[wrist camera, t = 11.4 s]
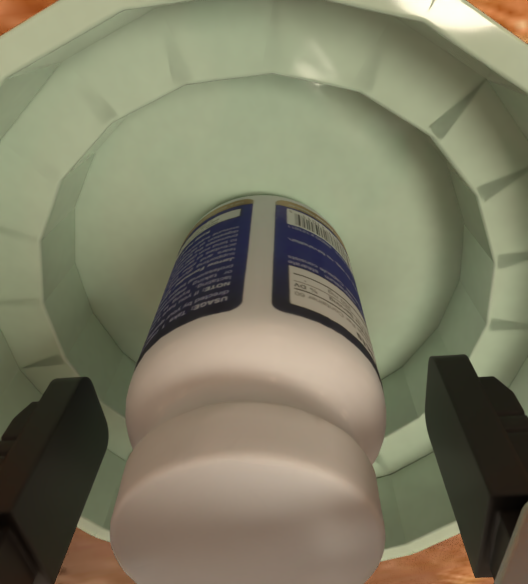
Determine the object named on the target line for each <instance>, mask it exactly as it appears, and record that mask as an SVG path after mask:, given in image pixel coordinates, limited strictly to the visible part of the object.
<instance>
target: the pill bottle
mask: <svg viewBox="0 0 528 584" xmlns="http://www.w3.org/2000/svg"><path fill="white" fill-rule="evenodd" d="M125 418H126V427H127V432H128V436H129V440H130V443H131V446H132V449H133V451H132V452H131V454H130V455H129V458H128V460H127V462H126V465H125V469H124V472H123V476H122V480H121V484H120V488H119V492H118V496H117V499H116V503H115V507H114V510H113V514H112V518H111V522H110V541H111V548H112V550H113V552H114V555H115V558H116V559H117V561H118V563H119V564H120V566H121V567H122V569H123V570H124V571H125V573H126V574H127V575H128V576H129V577H130V578H131V579H132V580H133V581H135V582H136V583H137V584H364V583H365V582H366V581H367V580H368V579H369V578H370V576H371V575H372V574H373V573H374V571H375V570H376V568H377V567H378V565H379V563H380V561H381V559H382V555H383V552H384V547H385V538H386V536H385V525H384V520H383V515H382V509H381V504H380V498H379V492H378V486H377V480H376V474H375V471H374V468H373V466H372V465H373V463H374V462H375V460H376V458H377V456H378V454H379V452H380V449H381V446H382V443H383V439H384V435H385V429H386V404H385V398H384V392H383V386H382V382H381V379H380V375H379V371H378V367H377V363H376V359H375V356H374V351H373V348H372V344H371V340H370V336H369V333H368V329H367V325H366V321H365V317H364V313H363V310H362V306H361V302H360V298H359V294H358V290H357V287H356V283H355V279H354V275H353V271H352V267H351V263H350V260H349V257H348V254H347V251H346V248H345V246H344V244H343V242H342V240H341V238H340V236H339V234H338V233H337V231H336V230H335V229H334V228H333V226H332V225H331V224H330V223H329V222H328V221H327V220H326V219H325V218H324V217H323V216H321V215H320V214H319V213H317V212H316V211H314V210H313V209H311V208H310V207H308V206H306V205H304V204H302V203H300V202H297V201H294V200H292V199H288V198H284V197H279V196H271V195H254V196H246V197H241V198H237V199H234V200H231V201H228V202H226V203H224V204H221V205H219V206H218V207H216V208H214V209H213V210H211V211H209V212H208V213H207V214H206V215H204V216H203V217H202V218H201V219H200V220H199V221H198V222H197V223H196V224H195V225H194V226H193V228H192V229H191V230H190V232H189V233H188V235H187V237H186V239H185V240H184V242H183V244H182V246H181V248H180V251H179V253H178V256H177V259H176V262H175V264H174V267H173V269H172V272H171V275H170V277H169V280H168V283H167V285H166V288H165V291H164V293H163V296H162V299H161V301H160V304H159V307H158V309H157V312H156V315H155V317H154V320H153V322H152V325H151V328H150V330H149V333H148V336H147V338H146V341H145V343H144V346H143V349H142V351H141V354H140V357H139V359H138V361H137V364H136V367H135V370H134V373H133V376H132V379H131V382H130V385H129V389H128V393H127V397H126V412H125Z"/></svg>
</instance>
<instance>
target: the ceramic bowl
mask: <svg viewBox="0 0 528 584" xmlns="http://www.w3.org/2000/svg"><path fill="white" fill-rule="evenodd" d="M254 195H271V196H279V197H284V198H288V199H292V200H294V201H297V202H300V203H302V204H304V205H306V206H308V207H310V208H311V209H313V210H314V211H316V212H317V213H319V214H320V215H321V216H323V217H324V218H325V219H326V220H327V221H328V222H329V223H330V224H331V225H332V226H333V228H334V229H335V230H336V231H337V233H338V234H339V236H340V238H341V240H342V242H343V244H344V246H345V248H346V251H347V254H348V257H349V260H350V263H351V267H352V271H353V275H354V279H355V283H356V287H357V290H358V294H359V298H360V302H361V306H362V310H363V313H364V317H365V321H366V325H367V329H368V333H369V336H370V340H371V344H372V348H373V351H374V356H375V359H376V363H377V367H378V371H379V375H380V379H381V382H382V386H383V392H384V398H385V404H386V429H385V435H384V439H383V443H382V446H381V449H380V452H379V454H378V456H377V458H376V460H375V462H374V463H373V465H372V466H373V468H374V471H375V474H376V480H377V486H378V492H379V498H380V504H381V509H382V515H383V520H384V525H385V536H386V538H385V547H384V552H383V555H382V559H381V561H386V560H390V559H395V558H399V557H403V556H408V555H412V554H413V553H417V552H420V551H422V550H424V549H426V548H429V547H431V546H433V545H435V544H437V543H440V542H442V541H444V540H446V539H449V538H451V537H453V536H455V535H457V534H460V530H459V527H458V524H457V521H456V518H455V515H454V512H453V509H452V506H451V503H450V500H449V497H448V494H447V491H446V488H445V485H444V482H443V478H442V475H441V472H440V469H439V466H438V463H437V460H436V457H435V454H434V451H433V448H432V445H431V442H430V439H429V436H428V432H427V427H426V421H425V397H426V384H427V371H428V361H429V358H430V356H442V355H458V354H465V355H467V356H468V358H469V360H470V362H471V364H472V366H473V368H474V369H475V371H476V373H477V375H478V377H487V376H494V377H496V378H497V379H498V380H499V381H500V382H502V383H503V384H504V385H505V386H507V387H508V388H509V389H510V390H511V391H513V392H514V394H515V396H516V397H517V399H518V401H519V403H520V404H521V406H522V408H523V410H524V411H525V415H527V417H528V44H527V43H526V42H524V41H523V40H522V39H520V38H519V37H517V36H516V35H515V34H513V33H512V32H510V31H509V30H508V29H506V28H505V27H503V26H502V25H501V24H499V23H498V22H496V21H495V20H494V19H492V18H491V17H489V16H488V15H487V14H485V13H484V12H482V11H481V10H479V9H478V8H477V7H475V6H474V5H472V4H471V3H470V2H468V1H467V0H58V1H56V2H54V3H53V4H51V5H50V6H48V7H46V8H45V9H43V10H41V11H40V12H38V13H36V14H35V15H33V16H32V17H30V18H28V19H27V20H25V21H23V22H22V23H20V24H18V25H17V26H15V27H14V28H12V29H10V30H9V31H7V32H5V33H4V34H2V35H0V441H1V437H2V435H3V434H4V432H5V431H6V429H7V427H8V426H9V424H10V423H11V421H12V420H13V418H14V417H15V416H17V415H18V414H19V413H20V412H21V411H22V410H23V409H25V408H26V407H27V406H28V405H29V404H30V403H31V402H37V401H39V400H40V399H41V397H42V395H43V394H44V392H45V390H46V389H47V387H48V385H49V384H50V382H51V381H52V380H53V379H56V378H70V377H88V378H90V379H91V381H92V383H93V386H94V388H95V391H96V394H97V396H98V399H99V402H100V405H101V407H102V410H103V413H104V415H105V418H106V421H107V424H108V430H109V439H108V446H107V450H106V453H105V455H104V458H103V460H102V463H101V465H100V468H99V470H98V473H97V476H96V478H95V481H94V483H93V486H92V488H91V491H90V494H89V496H88V499H87V501H86V504H85V506H84V509H83V511H82V514H81V517H80V519H79V522H78V524H77V528H79V529H81V530H83V531H84V532H86V533H88V534H90V535H91V536H95V537H96V538H99V539H102V540H104V541H107V542H110V543H111V541H110V522H111V518H112V514H113V510H114V507H115V503H116V499H117V496H118V492H119V488H120V484H121V480H122V476H123V472H124V469H125V465H126V462H127V460H128V458H129V455H130V454H131V452H132V451H133V449H132V446H131V443H130V440H129V436H128V432H127V427H126V418H125V412H126V397H127V393H128V389H129V385H130V382H131V379H132V376H133V373H134V370H135V367H136V364H137V361H138V359H139V357H140V354H141V351H142V349H143V346H144V343H145V341H146V338H147V336H148V333H149V330H150V328H151V325H152V322H153V320H154V317H155V315H156V312H157V309H158V307H159V304H160V301H161V299H162V296H163V293H164V291H165V288H166V285H167V283H168V280H169V277H170V275H171V272H172V269H173V267H174V264H175V262H176V259H177V256H178V253H179V251H180V248H181V246H182V244H183V242H184V240H185V239H186V237H187V235H188V233H189V232H190V230H191V229H192V228H193V226H194V225H195V224H196V223H197V222H198V221H199V220H200V219H201V218H202V217H203V216H204V215H206V214H207V213H208V212H209V211H211V210H213V209H214V208H216V207H218V206H219V205H221V204H224V203H226V202H228V201H231V200H234V199H237V198H241V197H246V196H254ZM381 561H380V562H381Z"/></svg>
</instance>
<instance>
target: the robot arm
mask: <svg viewBox="0 0 528 584" xmlns="http://www.w3.org/2000/svg"><path fill="white" fill-rule="evenodd" d="M425 421H426V427H427V432H428V436H429V439H430V442H431V445H432V448H433V451H434V454H435V457H436V460H437V463H438V466H439V469H440V472H441V475H442V478H443V482H444V485H445V488H446V491H447V494H448V497H449V500H450V503H451V506H452V509H453V512H454V515H455V518H456V521H457V524H458V527H459V530H460V534H461V537H462V540H463V543H464V546H465V549H466V552H467V555H468V558H469V561H470V564H471V567H472V570H473V573H474V576H475V578H480V577H493V578H494V584H528V417H527V415H525V411H524V410H523V408H522V406H521V404H520V403H519V401H518V399H517V397H516V396H515V394H514V392H513V391H511V390H510V389H509V388H508V387H507V386H505V385H504V384H503V383H502V382H500V381H499V380H498V379H497V378H496V377H494V376H487V377H478V375H477V373H476V371H475V369H474V368H473V366H472V364H471V362H470V360H469V358H468V356H467V355H465V354H458V355H442V356H430V358H429V361H428V371H427V384H426V397H425ZM108 439H109V430H108V424H107V421H106V418H105V415H104V413H103V410H102V407H101V405H100V402H99V399H98V396H97V394H96V391H95V388H94V386H93V383H92V381H91V379H90V378H88V377H70V378H56V379H53V380H52V381H51V382H50V384H49V385H48V387H47V389H46V390H45V392H44V394H43V395H42V397H41V399H40V400H39V401H37V402H31V403H30V404H29V405H28V406H27V407H26V408H25V409H23V410H22V411H21V412H20V413H19V414H18V415H17V416H15V417H14V418H13V420H12V421H11V423H10V424H9V426H8V427H7V429H6V431H5V432H4V434H3V435H2V437H1V441H0V584H54V583H55V581H56V578H57V575H58V573H59V570H60V568H61V565H62V563H63V560H64V558H65V555H66V552H67V550H68V547H69V545H70V542H71V540H72V537H73V534H74V532H75V529H76V527H77V524H78V522H79V519H80V517H81V514H82V511H83V509H84V506H85V504H86V501H87V499H88V496H89V494H90V491H91V488H92V486H93V483H94V481H95V478H96V476H97V473H98V470H99V468H100V465H101V463H102V460H103V458H104V455H105V453H106V450H107V446H108Z"/></svg>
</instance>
